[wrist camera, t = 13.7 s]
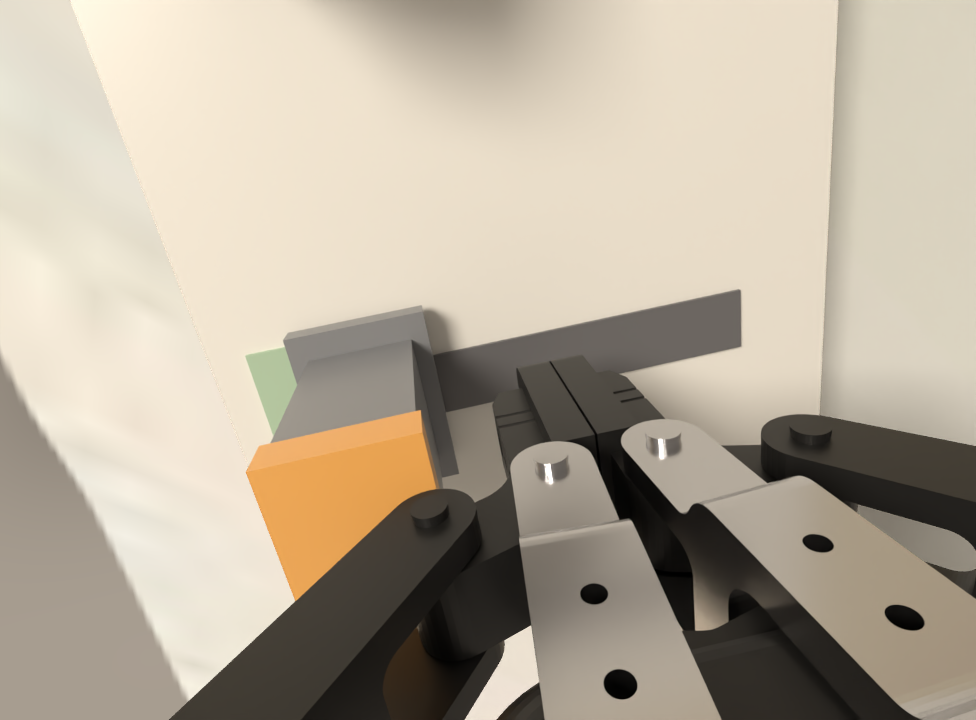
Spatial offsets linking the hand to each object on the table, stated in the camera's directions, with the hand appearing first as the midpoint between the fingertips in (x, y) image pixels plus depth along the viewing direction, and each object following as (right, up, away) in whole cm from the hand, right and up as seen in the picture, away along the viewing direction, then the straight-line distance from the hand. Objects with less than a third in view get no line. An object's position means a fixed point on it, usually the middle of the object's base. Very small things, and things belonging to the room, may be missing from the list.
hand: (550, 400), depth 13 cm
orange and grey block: (-4, 0, +1) cm, 4 cm away
